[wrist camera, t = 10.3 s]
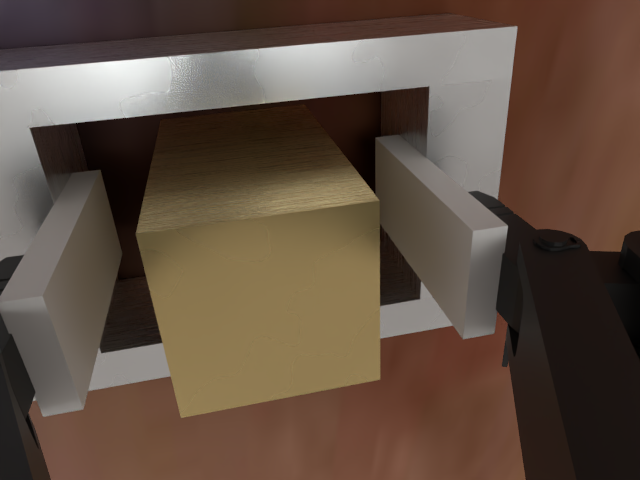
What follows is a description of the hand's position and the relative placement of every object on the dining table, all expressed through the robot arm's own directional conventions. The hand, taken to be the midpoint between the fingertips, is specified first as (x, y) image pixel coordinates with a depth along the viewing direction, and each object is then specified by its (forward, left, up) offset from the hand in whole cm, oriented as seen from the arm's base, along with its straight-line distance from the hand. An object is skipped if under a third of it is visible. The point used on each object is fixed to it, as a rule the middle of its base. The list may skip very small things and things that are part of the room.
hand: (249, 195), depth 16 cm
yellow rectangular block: (0, 0, -2) cm, 2 cm away
